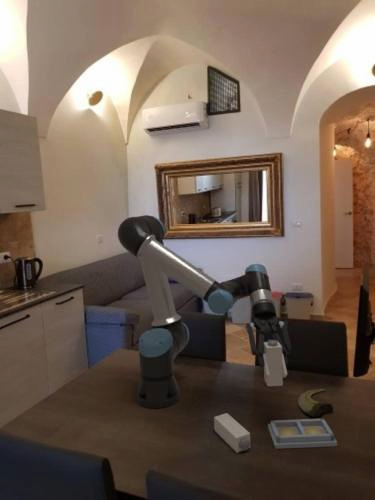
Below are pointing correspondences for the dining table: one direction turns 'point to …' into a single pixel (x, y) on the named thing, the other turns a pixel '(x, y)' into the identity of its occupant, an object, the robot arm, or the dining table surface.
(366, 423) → the dining table surface
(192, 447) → the dining table surface
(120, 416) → the dining table surface
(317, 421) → the tray
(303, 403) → the claw
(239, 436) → the white rectangular block
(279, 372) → the white square bottle
